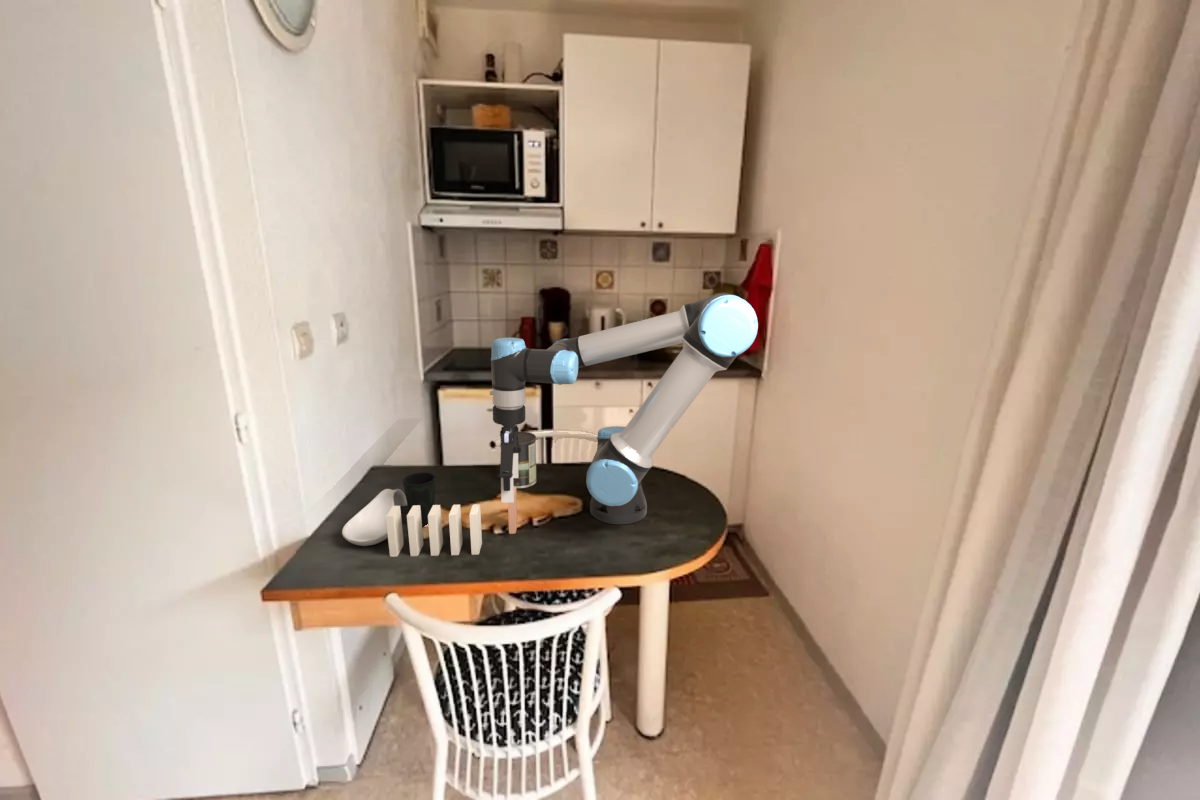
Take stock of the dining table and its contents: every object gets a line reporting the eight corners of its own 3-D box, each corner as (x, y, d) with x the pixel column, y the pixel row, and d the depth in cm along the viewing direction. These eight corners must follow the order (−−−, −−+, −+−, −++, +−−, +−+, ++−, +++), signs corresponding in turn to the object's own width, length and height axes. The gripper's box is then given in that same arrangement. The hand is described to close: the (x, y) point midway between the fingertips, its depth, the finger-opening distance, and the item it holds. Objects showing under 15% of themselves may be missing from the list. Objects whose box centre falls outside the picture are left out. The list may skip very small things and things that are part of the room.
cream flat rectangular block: (403, 544, 122) (400, 505, 119) (397, 556, 117) (393, 516, 114) (396, 544, 122) (392, 505, 119) (389, 556, 117) (385, 516, 114)
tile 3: (443, 543, 122) (440, 504, 120) (438, 555, 117) (435, 515, 115) (436, 543, 122) (433, 505, 120) (431, 555, 117) (427, 515, 115)
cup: (406, 517, 134) (402, 474, 131) (437, 513, 137) (434, 470, 133) (407, 532, 127) (402, 486, 124) (439, 527, 130) (436, 482, 127)
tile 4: (423, 544, 122) (420, 505, 119) (417, 556, 117) (414, 515, 115) (416, 544, 122) (413, 505, 119) (410, 556, 117) (406, 515, 114)
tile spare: (517, 523, 132) (516, 487, 129) (515, 533, 127) (514, 495, 125) (511, 523, 132) (509, 487, 129) (509, 533, 127) (507, 496, 125)
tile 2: (462, 543, 123) (460, 504, 120) (458, 555, 118) (455, 514, 115) (455, 543, 123) (453, 504, 120) (451, 555, 118) (448, 515, 115)
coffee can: (514, 491, 150) (513, 445, 146) (495, 480, 157) (493, 436, 153) (543, 482, 156) (543, 437, 153) (524, 471, 164) (522, 429, 160)
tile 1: (482, 542, 123) (480, 504, 120) (478, 554, 118) (476, 514, 115) (475, 543, 123) (473, 504, 120) (471, 554, 118) (469, 514, 115)
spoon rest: (386, 553, 118) (383, 525, 117) (334, 553, 118) (330, 524, 116) (420, 505, 141) (418, 481, 139) (376, 505, 141) (373, 480, 139)
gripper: (499, 391, 133) (500, 468, 139) (484, 421, 109) (487, 513, 115) (528, 391, 133) (529, 468, 139) (521, 421, 109) (522, 513, 115)
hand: (510, 489), depth 127 cm, fingers open, 13 cm apart
